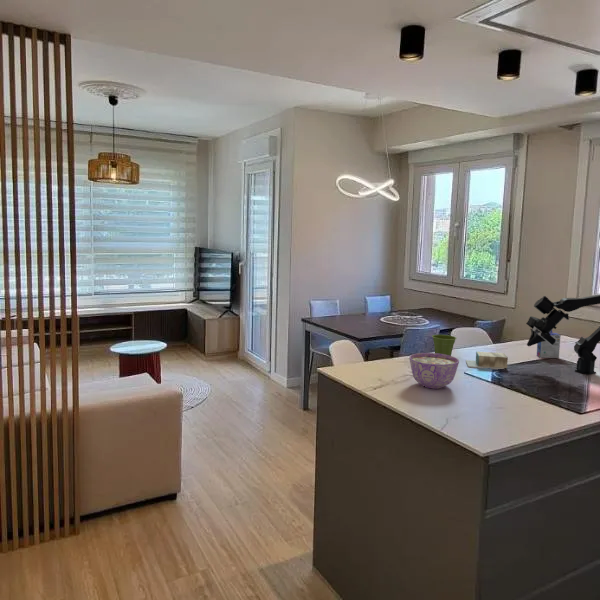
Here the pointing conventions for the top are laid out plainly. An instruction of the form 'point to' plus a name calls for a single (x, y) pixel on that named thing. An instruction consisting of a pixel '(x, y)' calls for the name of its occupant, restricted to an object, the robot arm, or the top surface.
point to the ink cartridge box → (549, 347)
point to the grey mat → (474, 365)
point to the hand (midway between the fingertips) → (527, 345)
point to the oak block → (491, 359)
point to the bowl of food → (433, 369)
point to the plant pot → (443, 344)
